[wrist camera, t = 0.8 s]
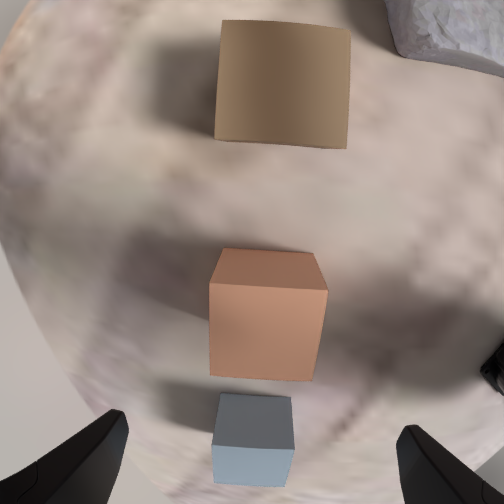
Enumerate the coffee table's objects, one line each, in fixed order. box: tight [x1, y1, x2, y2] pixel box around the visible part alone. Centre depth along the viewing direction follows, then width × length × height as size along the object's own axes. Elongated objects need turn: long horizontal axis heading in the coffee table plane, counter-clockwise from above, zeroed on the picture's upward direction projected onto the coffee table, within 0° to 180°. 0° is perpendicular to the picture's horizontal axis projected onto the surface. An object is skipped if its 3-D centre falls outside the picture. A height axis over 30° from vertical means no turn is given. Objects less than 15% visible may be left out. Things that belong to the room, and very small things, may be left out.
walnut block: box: [214, 20, 351, 149], centre depth 13 cm, size 5×5×5 cm
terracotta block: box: [209, 248, 329, 381], centre depth 17 cm, size 5×5×5 cm
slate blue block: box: [212, 393, 295, 487], centre depth 20 cm, size 5×5×5 cm
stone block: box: [384, 0, 504, 78], centre depth 11 cm, size 12×5×10 cm
